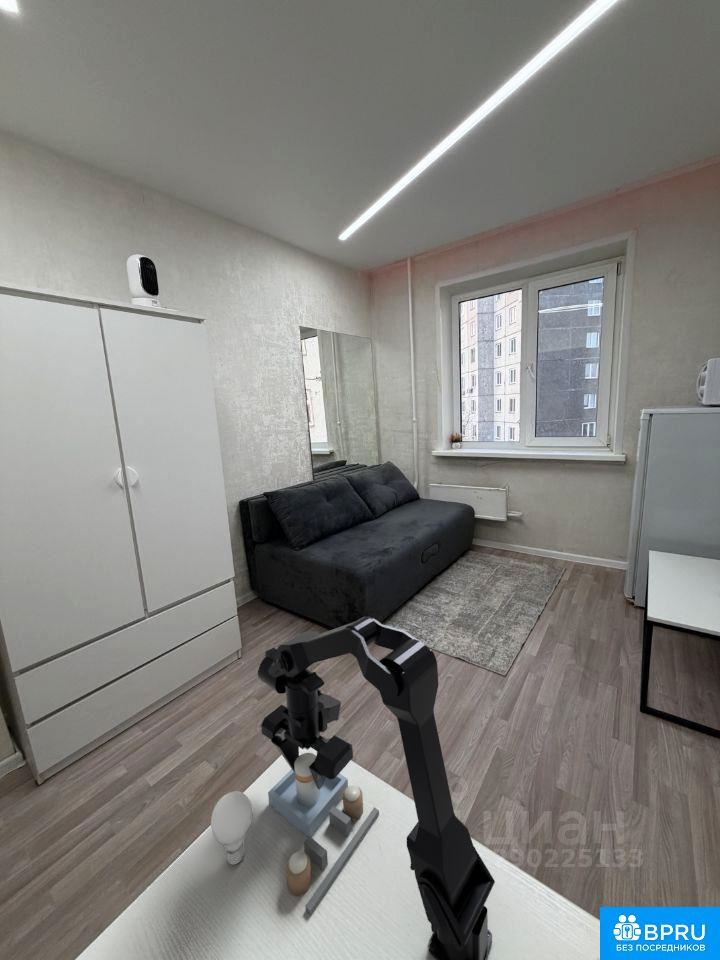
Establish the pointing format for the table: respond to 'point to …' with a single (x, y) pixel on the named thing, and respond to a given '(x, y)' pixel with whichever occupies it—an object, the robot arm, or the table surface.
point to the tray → (306, 817)
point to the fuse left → (298, 873)
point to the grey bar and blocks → (320, 854)
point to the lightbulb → (232, 823)
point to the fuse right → (353, 802)
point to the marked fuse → (305, 781)
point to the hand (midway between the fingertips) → (307, 778)
